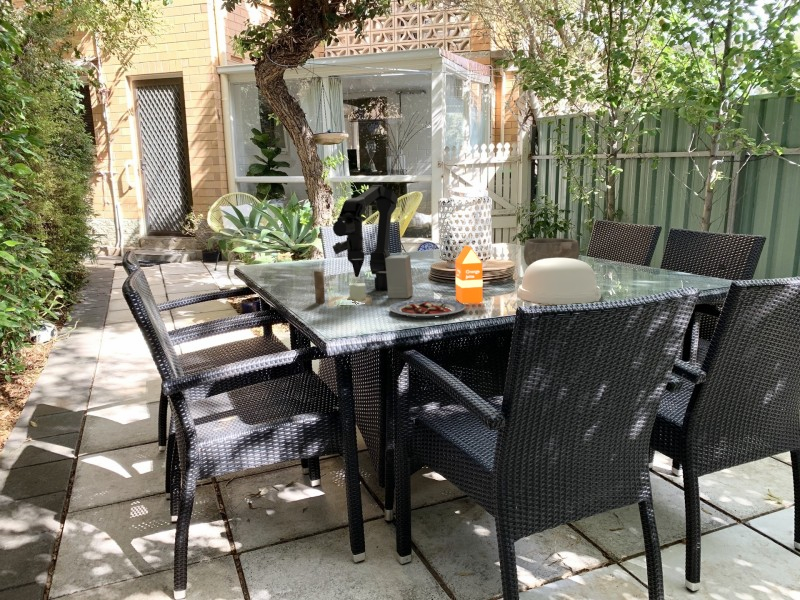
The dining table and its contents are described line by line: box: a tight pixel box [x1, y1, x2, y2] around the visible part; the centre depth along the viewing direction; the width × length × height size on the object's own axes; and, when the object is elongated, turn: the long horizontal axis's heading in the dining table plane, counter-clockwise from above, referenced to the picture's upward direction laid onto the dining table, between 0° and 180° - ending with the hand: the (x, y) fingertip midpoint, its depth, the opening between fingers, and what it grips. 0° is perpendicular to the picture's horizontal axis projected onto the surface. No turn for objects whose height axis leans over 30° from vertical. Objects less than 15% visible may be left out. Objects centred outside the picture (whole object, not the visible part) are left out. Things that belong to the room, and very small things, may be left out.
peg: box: [313, 269, 326, 305], centre depth 229 cm, size 3×3×12 cm
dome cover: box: [517, 258, 602, 305], centre depth 230 cm, size 32×30×14 cm
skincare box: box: [385, 254, 414, 299], centre depth 236 cm, size 8×7×16 cm
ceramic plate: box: [388, 298, 466, 318], centre depth 211 cm, size 26×26×3 cm
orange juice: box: [455, 244, 484, 304], centre depth 224 cm, size 8×9×20 cm
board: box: [327, 294, 373, 308], centre depth 232 cm, size 16×18×1 cm
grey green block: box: [348, 282, 367, 300], centre depth 237 cm, size 6×6×5 cm
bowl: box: [523, 237, 580, 268], centre depth 280 cm, size 24×24×15 cm
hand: (356, 275), depth 235 cm, fingers open, 9 cm apart
